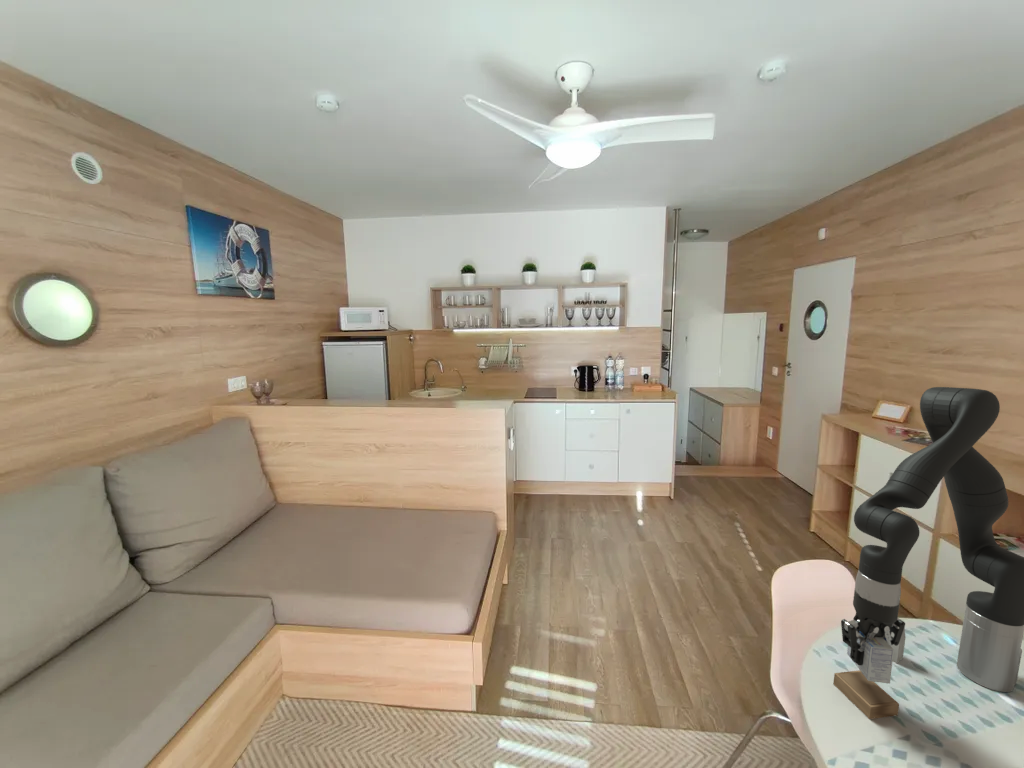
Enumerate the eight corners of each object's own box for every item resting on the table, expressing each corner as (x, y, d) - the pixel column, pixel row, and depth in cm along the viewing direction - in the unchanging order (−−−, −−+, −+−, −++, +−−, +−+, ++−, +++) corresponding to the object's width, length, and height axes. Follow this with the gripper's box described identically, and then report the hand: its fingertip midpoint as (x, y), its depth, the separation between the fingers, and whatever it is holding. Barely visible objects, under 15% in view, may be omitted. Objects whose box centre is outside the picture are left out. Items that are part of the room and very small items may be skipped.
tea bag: (896, 663, 105) (901, 628, 103) (864, 645, 110) (868, 612, 109) (902, 658, 106) (907, 623, 105) (870, 640, 112) (874, 607, 111)
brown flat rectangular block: (859, 681, 100) (860, 669, 99) (897, 715, 91) (899, 703, 90) (833, 684, 99) (834, 672, 98) (869, 719, 90) (870, 706, 89)
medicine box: (890, 685, 89) (895, 649, 88) (867, 681, 90) (871, 646, 89) (867, 656, 97) (871, 623, 96) (846, 653, 98) (849, 621, 97)
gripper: (888, 581, 96) (880, 645, 98) (832, 585, 94) (825, 651, 96) (923, 602, 88) (913, 671, 91) (863, 607, 87) (855, 678, 89)
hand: (868, 660), depth 93 cm, fingers closed on medicine box, 5 cm apart
